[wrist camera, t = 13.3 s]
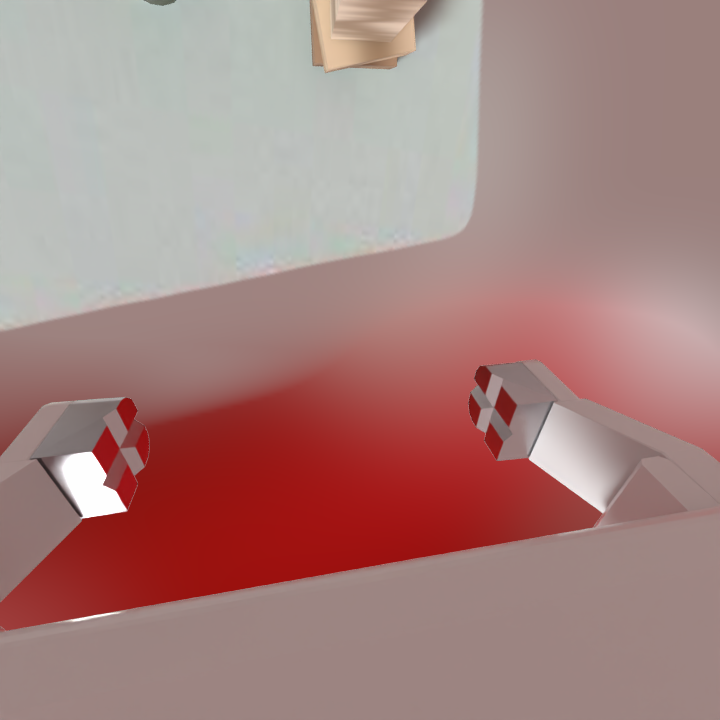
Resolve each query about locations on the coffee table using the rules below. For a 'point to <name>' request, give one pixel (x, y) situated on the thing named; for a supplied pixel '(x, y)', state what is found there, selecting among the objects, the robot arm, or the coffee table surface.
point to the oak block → (357, 43)
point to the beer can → (160, 2)
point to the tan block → (371, 18)
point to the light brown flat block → (375, 65)
